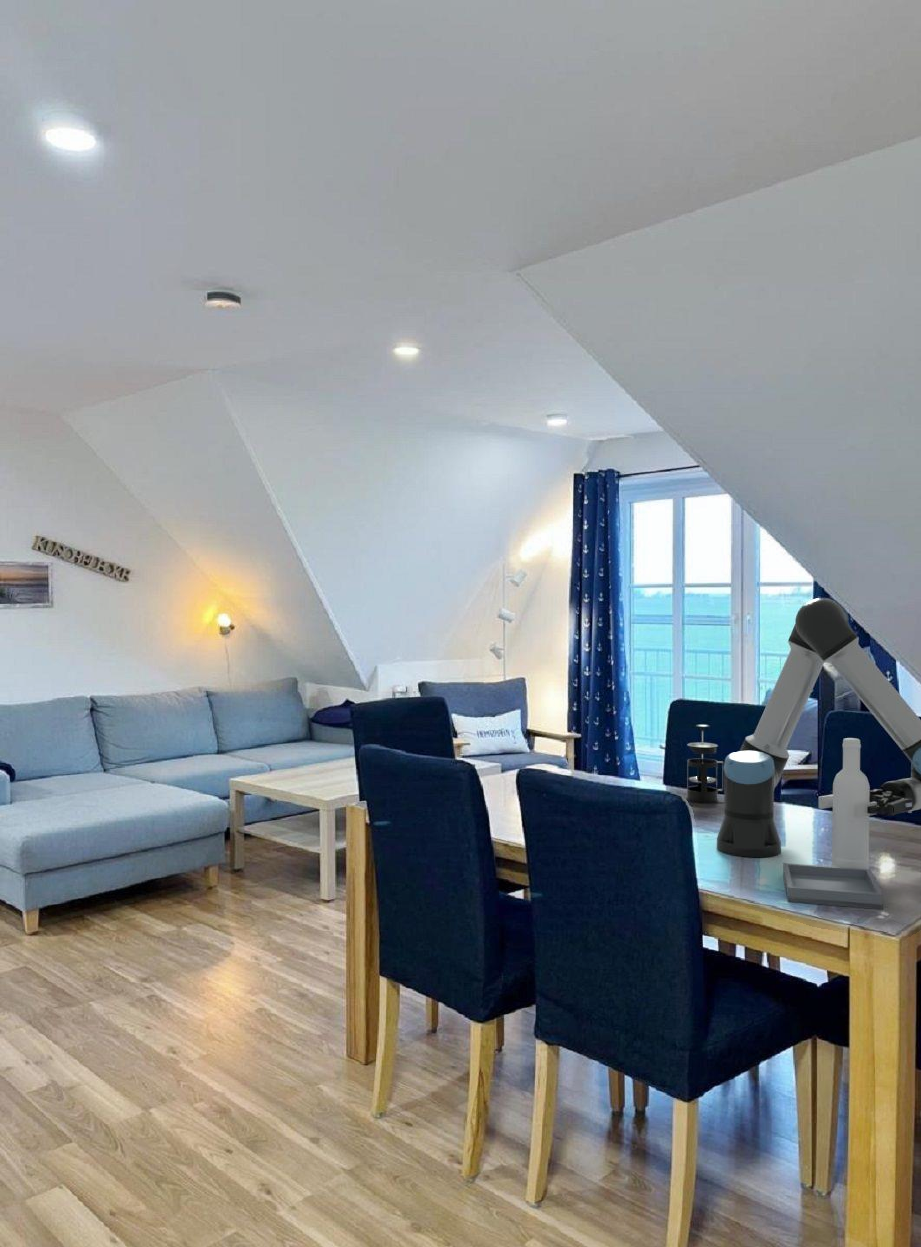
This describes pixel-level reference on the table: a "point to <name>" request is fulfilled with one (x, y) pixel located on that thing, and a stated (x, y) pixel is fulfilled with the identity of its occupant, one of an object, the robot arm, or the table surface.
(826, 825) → the table surface
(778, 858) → the table surface
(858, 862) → the bottle
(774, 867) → the table surface
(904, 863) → the table surface
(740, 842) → the robot arm
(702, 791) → the french press
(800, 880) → the tray
